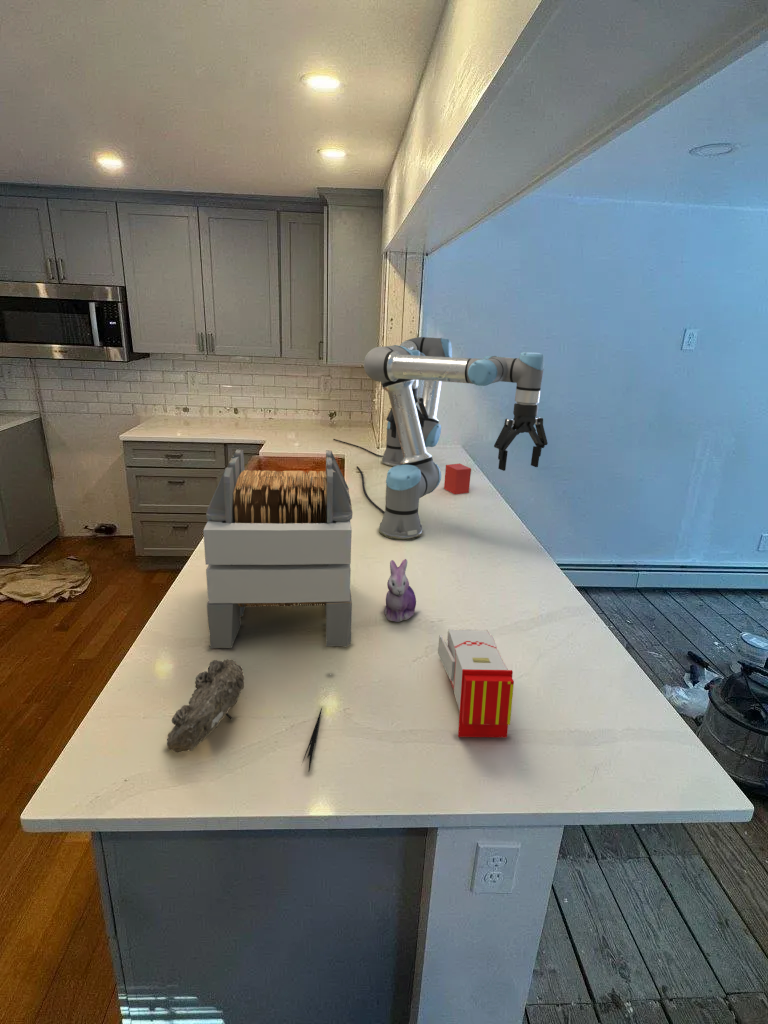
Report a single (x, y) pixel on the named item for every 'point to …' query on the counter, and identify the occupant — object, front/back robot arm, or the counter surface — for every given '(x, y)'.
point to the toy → (478, 682)
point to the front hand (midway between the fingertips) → (518, 468)
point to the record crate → (278, 547)
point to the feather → (313, 740)
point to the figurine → (399, 594)
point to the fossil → (206, 705)
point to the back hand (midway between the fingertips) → (406, 436)
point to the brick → (457, 478)
